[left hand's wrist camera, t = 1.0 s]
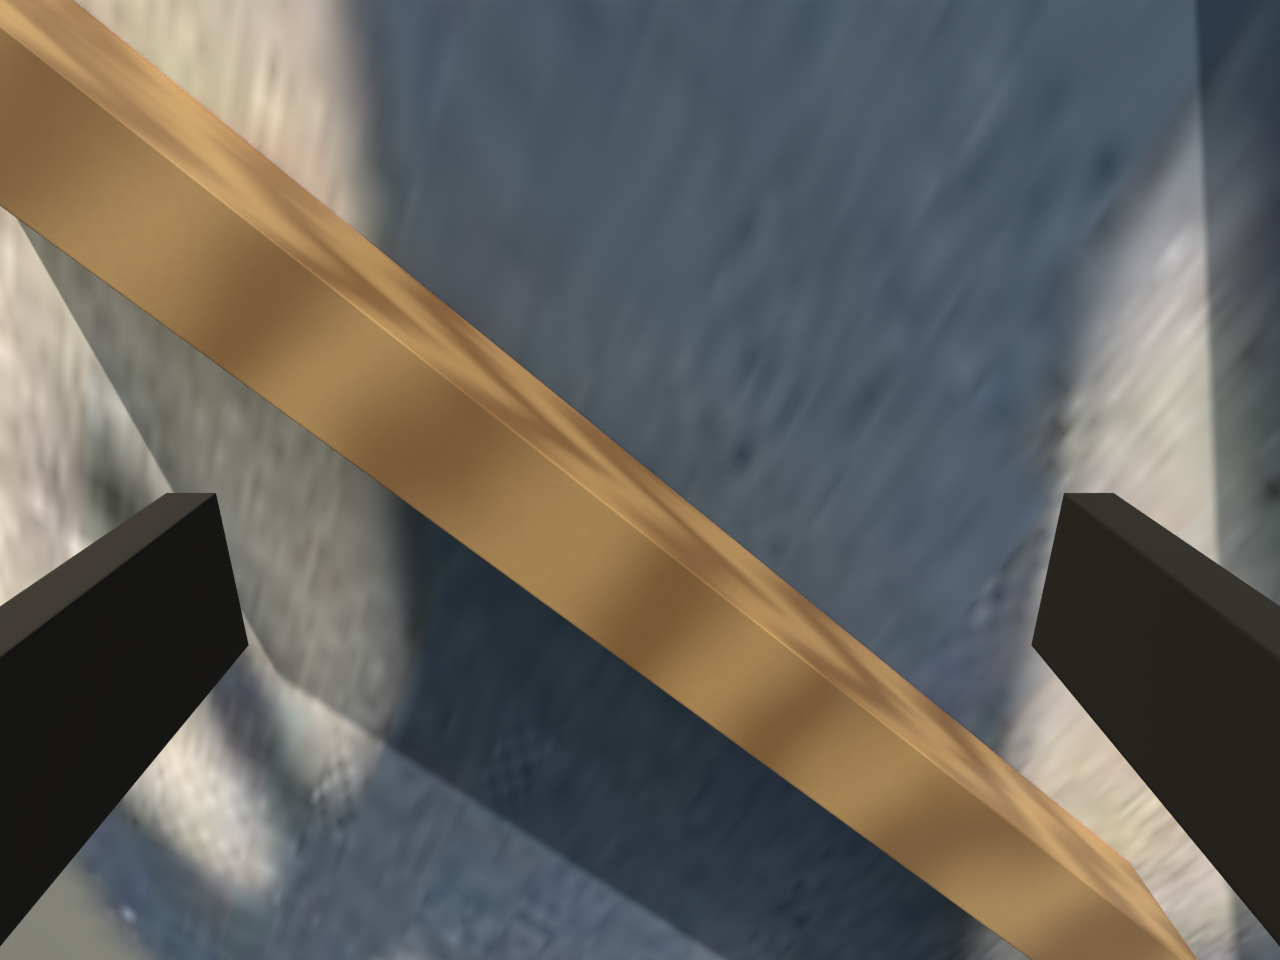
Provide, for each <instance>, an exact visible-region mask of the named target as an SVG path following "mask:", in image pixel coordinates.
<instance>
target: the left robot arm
mask: <svg viewBox="0 0 1280 960" xmlns="http://www.w3.org/2000/svg"><path fill="white" fill-rule="evenodd" d="M247 646H248V640H247V636H246V631H245V626H244V622H243V617H242V612H241V608H240V603H239V598H238V594H237V589H236V584H235V580H234V575H233V570H232V566H231V561H230V556H229V552H228V547H227V542H226V538H225V533H224V529H223V524H222V519H221V515H220V510H219V505H218V501H217V496H216V493H166V494H164V495H163V496H162V497H160V498H159V499H157V500H156V501H154V502H153V503H151V504H150V505H148V506H147V507H145V508H144V509H142V510H141V511H139V512H138V513H137V514H135V515H134V516H132V517H131V518H129V519H128V520H126V521H125V522H123V523H122V524H120V525H119V526H117V527H116V528H115V529H113V530H112V531H110V532H109V533H107V534H106V535H104V536H103V537H101V538H100V539H98V540H97V541H95V542H94V543H93V544H91V545H90V546H88V547H87V548H85V549H84V550H82V551H81V552H79V553H78V554H76V555H75V556H73V557H72V558H71V559H69V560H68V561H66V562H65V563H63V564H62V565H60V566H59V567H57V568H56V569H54V570H53V571H51V572H50V573H49V574H47V575H46V576H44V577H43V578H41V579H40V580H38V581H37V582H35V583H34V584H32V585H31V586H29V587H28V588H27V589H25V590H24V591H22V592H21V593H19V594H18V595H16V596H15V597H13V598H12V599H10V600H9V601H7V602H6V603H5V604H3V605H2V606H0V946H1V945H2V944H3V942H4V941H5V940H6V939H7V937H8V936H9V935H10V934H11V933H12V931H13V930H14V929H15V928H16V926H17V925H18V924H19V923H20V922H21V920H22V919H23V918H24V917H25V916H26V914H27V913H28V912H29V911H30V910H31V908H32V907H33V906H34V905H35V903H36V902H37V901H38V900H39V899H40V897H41V896H42V895H43V894H44V893H45V891H46V890H47V889H48V888H49V887H50V885H51V884H52V883H53V882H54V880H55V879H56V878H57V877H58V876H59V874H60V873H61V872H62V871H63V870H64V868H65V867H66V866H67V865H68V863H69V862H70V861H71V860H72V859H73V857H74V856H75V855H76V854H77V853H78V851H79V850H80V849H81V848H82V846H83V845H84V844H85V843H86V842H87V840H88V839H89V838H90V837H91V836H92V834H93V833H94V832H95V831H96V830H97V828H98V827H99V826H100V825H101V823H102V822H103V821H104V820H105V819H106V817H107V816H108V815H109V814H110V813H111V811H112V810H113V809H114V808H115V806H116V805H117V804H118V803H119V802H120V800H121V799H122V798H123V797H124V796H125V794H126V793H127V792H128V791H129V789H130V788H131V787H132V786H133V785H134V783H135V782H136V781H137V780H138V779H139V777H140V776H141V775H142V774H143V773H144V771H145V770H146V769H147V768H148V766H149V765H150V764H151V763H152V762H153V760H154V759H155V758H156V757H157V756H158V754H159V753H160V752H161V751H162V749H163V748H164V747H165V746H166V745H167V743H168V742H169V741H170V740H171V739H172V737H173V736H174V735H175V734H176V732H177V731H178V730H179V729H180V728H181V726H182V725H183V724H184V723H185V722H186V720H187V719H188V718H189V717H190V716H191V714H192V713H193V712H194V711H195V709H196V708H197V707H198V706H199V705H200V703H201V702H202V701H203V700H204V699H205V697H206V696H207V695H208V694H209V692H210V691H211V690H212V689H213V688H214V686H215V685H216V684H217V683H218V682H219V680H220V679H221V678H222V677H223V675H224V674H225V673H226V672H227V671H228V669H229V668H230V667H231V666H232V665H233V663H234V662H235V661H236V660H237V659H238V657H239V656H240V655H241V654H242V652H243V651H244V650H245V649H246V648H247ZM1032 646H1033V648H1034V649H1035V650H1036V651H1037V652H1038V654H1039V655H1040V656H1041V657H1042V659H1043V660H1044V661H1045V662H1046V663H1047V665H1048V666H1049V667H1050V668H1051V669H1052V671H1053V672H1054V673H1055V674H1056V675H1057V677H1058V678H1059V679H1060V680H1061V682H1062V683H1063V684H1064V685H1065V686H1066V688H1067V689H1068V690H1069V691H1070V692H1071V694H1072V695H1073V696H1074V697H1075V699H1076V700H1077V701H1078V702H1079V703H1080V705H1081V706H1082V707H1083V708H1084V709H1085V711H1086V712H1087V713H1088V714H1089V716H1090V717H1091V718H1092V719H1093V720H1094V722H1095V723H1096V724H1097V725H1098V726H1099V728H1100V729H1101V730H1102V731H1103V732H1104V734H1105V735H1106V736H1107V737H1108V739H1109V740H1110V741H1111V742H1112V743H1113V745H1114V746H1115V747H1116V748H1117V749H1118V751H1119V752H1120V753H1121V754H1122V756H1123V757H1124V758H1125V759H1126V760H1127V762H1128V763H1129V764H1130V765H1131V766H1132V768H1133V769H1134V770H1135V771H1136V773H1137V774H1138V775H1139V776H1140V777H1141V779H1142V780H1143V781H1144V782H1145V783H1146V785H1147V786H1148V787H1149V788H1150V789H1151V791H1152V792H1153V793H1154V794H1155V796H1156V797H1157V798H1158V799H1159V800H1160V802H1161V803H1162V804H1163V805H1164V806H1165V808H1166V809H1167V810H1168V811H1169V813H1170V814H1171V815H1172V816H1173V817H1174V819H1175V820H1176V821H1177V822H1178V823H1179V825H1180V826H1181V827H1182V828H1183V830H1184V831H1185V832H1186V833H1187V834H1188V836H1189V837H1190V838H1191V839H1192V840H1193V842H1194V843H1195V844H1196V845H1197V846H1198V848H1199V849H1200V850H1201V851H1202V853H1203V854H1204V855H1205V856H1206V857H1207V859H1208V860H1209V861H1210V862H1211V863H1212V865H1213V866H1214V867H1215V868H1216V870H1217V871H1218V872H1219V873H1220V874H1221V876H1222V877H1223V878H1224V879H1225V880H1226V882H1227V883H1228V884H1229V885H1230V887H1231V888H1232V889H1233V890H1234V891H1235V893H1236V894H1237V895H1238V896H1239V897H1240V899H1241V900H1242V901H1243V902H1244V903H1245V905H1246V906H1247V907H1248V908H1249V910H1250V911H1251V912H1252V913H1253V914H1254V916H1255V917H1256V918H1257V919H1258V920H1259V922H1260V923H1261V924H1262V925H1263V927H1264V928H1265V929H1266V930H1267V931H1268V933H1269V934H1270V935H1271V936H1272V937H1273V939H1274V940H1275V941H1276V942H1277V944H1278V945H1279V946H1280V606H1278V605H1277V604H1275V603H1274V602H1273V601H1271V600H1270V599H1268V598H1267V597H1265V596H1264V595H1262V594H1261V593H1259V592H1258V591H1256V590H1255V589H1253V588H1252V587H1251V586H1249V585H1248V584H1246V583H1245V582H1243V581H1242V580H1240V579H1239V578H1237V577H1236V576H1234V575H1233V574H1231V573H1230V572H1229V571H1227V570H1226V569H1224V568H1223V567H1221V566H1220V565H1218V564H1217V563H1215V562H1214V561H1212V560H1211V559H1209V558H1208V557H1207V556H1205V555H1204V554H1202V553H1201V552H1199V551H1198V550H1196V549H1195V548H1193V547H1192V546H1190V545H1189V544H1187V543H1186V542H1185V541H1183V540H1182V539H1180V538H1179V537H1177V536H1176V535H1174V534H1173V533H1171V532H1170V531H1168V530H1167V529H1165V528H1164V527H1163V526H1161V525H1160V524H1158V523H1157V522H1155V521H1154V520H1152V519H1151V518H1149V517H1148V516H1146V515H1145V514H1143V513H1142V512H1140V511H1139V510H1138V509H1136V508H1135V507H1133V506H1132V505H1130V504H1129V503H1127V502H1126V501H1124V500H1123V499H1121V498H1120V497H1118V496H1117V495H1116V494H1114V493H1064V496H1063V501H1062V505H1061V510H1060V515H1059V519H1058V524H1057V528H1056V533H1055V538H1054V542H1053V547H1052V552H1051V556H1050V561H1049V566H1048V570H1047V575H1046V580H1045V584H1044V589H1043V594H1042V598H1041V603H1040V608H1039V612H1038V617H1037V622H1036V626H1035V631H1034V636H1033V640H1032Z"/></svg>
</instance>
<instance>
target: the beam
mask: <svg viewBox="0 0 1280 960" xmlns="http://www.w3.org/2000/svg"><path fill="white" fill-rule="evenodd" d="M0 206H1V207H3V208H4V209H5V210H7V211H8V212H9V213H11V214H12V215H14V216H15V217H16V218H18V219H19V220H20V221H22V222H23V223H24V224H26V225H27V226H29V227H30V228H31V229H33V230H34V231H35V232H37V233H38V234H40V235H41V236H42V237H44V238H45V239H46V240H48V241H49V242H50V243H52V244H53V245H55V246H56V247H57V248H59V249H60V250H61V251H63V252H64V253H66V254H67V255H68V256H70V257H71V258H72V259H74V260H75V261H76V262H78V263H79V264H81V265H82V266H83V267H85V268H86V269H87V270H89V271H90V272H91V273H93V274H94V275H96V276H97V277H98V278H100V279H101V280H102V281H104V282H105V283H107V284H108V285H109V286H111V287H112V288H113V289H115V290H116V291H117V292H119V293H120V294H122V295H123V296H124V297H126V298H127V299H128V300H130V301H131V302H133V303H134V304H135V305H137V306H138V307H139V308H141V309H142V310H143V311H145V312H146V313H148V314H149V315H150V316H152V317H153V318H154V319H156V320H157V321H159V322H160V323H161V324H163V325H164V326H165V327H167V328H168V329H169V330H171V331H172V332H174V333H175V334H176V335H178V336H179V337H180V338H182V339H183V340H184V341H186V342H187V343H189V344H190V345H191V346H193V347H194V348H195V349H197V350H198V351H200V352H201V353H202V354H204V355H205V356H206V357H208V358H209V359H210V360H212V361H213V362H215V363H216V364H217V365H219V366H220V367H221V368H223V369H224V370H226V371H227V372H228V373H230V374H231V375H232V376H234V377H235V378H236V379H238V380H239V381H241V382H242V383H243V384H245V385H246V386H247V387H249V388H250V389H252V390H253V391H254V392H256V393H257V394H258V395H260V396H261V397H262V398H264V399H265V400H267V401H268V402H269V403H271V404H272V405H273V406H275V407H276V408H278V409H279V410H280V411H282V412H283V413H284V414H286V415H287V416H288V417H290V418H291V419H293V420H294V421H295V422H297V423H298V424H299V425H301V426H302V427H303V428H305V429H306V430H308V431H309V432H310V433H312V434H313V435H314V436H316V437H317V438H319V439H320V440H321V441H323V442H324V443H325V444H327V445H328V446H329V447H331V448H332V449H334V450H335V451H336V452H338V453H339V454H340V455H342V456H343V457H345V458H346V459H347V460H349V461H350V462H351V463H353V464H354V465H355V466H357V467H358V468H360V469H361V470H362V471H364V472H365V473H366V474H368V475H369V476H371V477H372V478H373V479H375V480H376V481H377V482H379V483H380V484H381V485H383V486H384V487H386V488H387V489H388V490H390V491H391V492H392V493H394V494H395V495H397V496H398V497H399V498H401V499H402V500H403V501H405V502H406V503H407V504H409V505H410V506H412V507H413V508H414V509H416V510H417V511H418V512H420V513H421V514H422V515H424V516H425V517H427V518H428V519H429V520H431V521H432V522H433V523H435V524H436V525H438V526H439V527H440V528H442V529H443V530H444V531H446V532H447V533H448V534H450V535H451V536H453V537H454V538H455V539H457V540H458V541H459V542H461V543H462V544H464V545H465V546H466V547H468V548H469V549H470V550H472V551H473V552H474V553H476V554H477V555H479V556H480V557H481V558H483V559H484V560H485V561H487V562H488V563H490V564H491V565H492V566H494V567H495V568H496V569H498V570H499V571H500V572H502V573H503V574H505V575H506V576H507V577H509V578H510V579H511V580H513V581H514V582H516V583H517V584H518V585H520V586H521V587H522V588H524V589H525V590H526V591H528V592H529V593H531V594H532V595H533V596H535V597H536V598H537V599H539V600H540V601H541V602H543V603H544V604H546V605H547V606H548V607H550V608H551V609H552V610H554V611H555V612H557V613H558V614H559V615H561V616H562V617H563V618H565V619H566V620H567V621H569V622H570V623H572V624H573V625H574V626H576V627H577V628H578V629H580V630H581V631H583V632H584V633H585V634H587V635H588V636H589V637H591V638H592V639H593V640H595V641H596V642H598V643H599V644H600V645H602V646H603V647H604V648H606V649H607V650H609V651H610V652H611V653H613V654H614V655H615V656H617V657H618V658H619V659H621V660H622V661H624V662H625V663H626V664H628V665H629V666H630V667H632V668H633V669H635V670H636V671H637V672H639V673H640V674H641V675H643V676H644V677H645V678H647V679H648V680H650V681H651V682H652V683H654V684H655V685H656V686H658V687H659V688H660V689H662V690H663V691H665V692H666V693H667V694H669V695H670V696H671V697H673V698H674V699H676V700H677V701H678V702H680V703H681V704H682V705H684V706H685V707H686V708H688V709H689V710H691V711H692V712H693V713H695V714H696V715H697V716H699V717H700V718H702V719H703V720H704V721H706V722H707V723H708V724H710V725H711V726H712V727H714V728H715V729H717V730H718V731H719V732H721V733H722V734H723V735H725V736H726V737H728V738H729V739H730V740H732V741H733V742H734V743H736V744H737V745H738V746H740V747H741V748H743V749H744V750H745V751H747V752H748V753H749V754H751V755H752V756H754V757H755V758H756V759H758V760H759V761H760V762H762V763H763V764H764V765H766V766H767V767H769V768H770V769H771V770H773V771H774V772H775V773H777V774H778V775H779V776H781V777H782V778H784V779H785V780H786V781H788V782H789V783H790V784H792V785H793V786H795V787H796V788H797V789H799V790H800V791H801V792H803V793H804V794H805V795H807V796H808V797H810V798H811V799H812V800H814V801H815V802H816V803H818V804H819V805H821V806H822V807H823V808H825V809H826V810H827V811H829V812H830V813H831V814H833V815H834V816H836V817H837V818H838V819H840V820H841V821H842V822H844V823H845V824H847V825H848V826H849V827H851V828H852V829H853V830H855V831H856V832H857V833H859V834H860V835H862V836H863V837H864V838H866V839H867V840H868V841H870V842H871V843H872V844H874V845H875V846H877V847H878V848H879V849H881V850H882V851H883V852H885V853H886V854H888V855H889V856H890V857H892V858H893V859H894V860H896V861H897V862H898V863H900V864H901V865H903V866H904V867H905V868H907V869H908V870H909V871H911V872H912V873H914V874H915V875H916V876H918V877H919V878H920V879H922V880H923V881H924V882H926V883H927V884H929V885H930V886H931V887H933V888H934V889H935V890H937V891H938V892H940V893H941V894H942V895H944V896H945V897H946V898H948V899H949V900H950V901H952V902H953V903H955V904H956V905H957V906H959V907H960V908H961V909H963V910H964V911H966V912H967V913H968V914H970V915H971V916H972V917H974V918H975V919H976V920H978V921H979V922H981V923H982V924H983V925H985V926H986V927H987V928H989V929H990V930H991V931H993V932H994V933H996V934H997V935H998V936H1000V937H1001V938H1002V939H1004V940H1005V941H1007V942H1008V943H1009V944H1011V945H1012V946H1013V947H1015V948H1016V949H1017V950H1019V951H1020V952H1022V953H1023V954H1024V955H1026V956H1027V957H1028V958H1030V959H1031V960H1197V958H1196V957H1195V955H1194V954H1193V952H1192V951H1191V950H1190V948H1189V947H1188V945H1187V944H1186V942H1185V941H1184V940H1183V938H1182V937H1181V935H1180V934H1179V932H1178V931H1177V930H1176V928H1175V927H1174V925H1173V924H1172V922H1171V921H1170V920H1169V918H1168V917H1167V915H1166V914H1165V913H1164V911H1163V910H1162V908H1161V907H1160V905H1159V904H1158V903H1157V901H1156V900H1155V898H1154V897H1153V895H1152V894H1151V893H1150V891H1149V890H1148V888H1147V887H1146V885H1145V884H1144V883H1143V881H1142V880H1141V878H1140V877H1139V875H1138V874H1137V873H1136V871H1135V870H1134V868H1133V867H1132V865H1131V864H1130V863H1129V862H1128V861H1126V860H1125V859H1124V858H1123V857H1121V856H1120V855H1119V854H1118V853H1117V852H1115V851H1114V850H1113V849H1112V848H1110V847H1109V846H1108V845H1107V844H1106V843H1104V842H1103V841H1102V840H1101V839H1099V838H1098V837H1097V836H1096V835H1094V834H1093V833H1092V832H1091V831H1090V830H1088V829H1087V828H1086V827H1085V826H1083V825H1082V824H1081V823H1080V822H1079V821H1077V820H1076V819H1075V818H1074V817H1072V816H1071V815H1070V814H1069V813H1068V812H1066V811H1065V810H1064V809H1063V808H1061V807H1060V806H1059V805H1058V804H1057V803H1055V802H1054V801H1053V800H1052V799H1050V798H1049V797H1048V796H1047V795H1046V794H1044V793H1043V792H1042V791H1041V790H1039V789H1038V788H1037V787H1036V786H1035V785H1033V784H1032V783H1031V782H1030V781H1028V780H1027V779H1026V778H1025V777H1023V776H1022V775H1021V774H1020V773H1019V772H1017V771H1016V770H1015V769H1014V768H1012V767H1011V766H1010V765H1009V764H1008V763H1006V762H1005V761H1004V760H1003V759H1001V758H1000V757H999V756H998V755H997V754H995V753H994V752H993V751H992V750H990V749H989V748H988V747H987V746H986V745H984V744H983V743H982V742H981V741H979V740H978V739H977V738H976V737H975V736H973V735H972V734H971V733H970V732H968V731H967V730H966V729H965V728H964V727H962V726H961V725H960V724H959V723H957V722H956V721H955V720H954V719H953V718H951V717H950V716H949V715H948V714H946V713H945V712H944V711H943V710H941V709H940V708H939V707H938V706H937V705H935V704H934V703H933V702H932V701H930V700H929V699H928V698H927V697H926V696H924V695H923V694H922V693H921V692H919V691H918V690H917V689H916V688H915V687H913V686H912V685H911V684H910V683H908V682H907V681H906V680H905V679H904V678H902V677H901V676H900V675H899V674H897V673H896V672H895V671H894V670H893V669H891V668H890V667H889V666H888V665H886V664H885V663H884V662H883V661H882V660H880V659H879V658H878V657H877V656H875V655H874V654H873V653H872V652H871V651H869V650H868V649H867V648H866V647H864V646H863V645H862V644H861V643H859V642H858V641H857V640H856V639H855V638H853V637H852V636H851V635H850V634H848V633H847V632H846V631H845V630H844V629H842V628H841V627H840V626H839V625H837V624H836V623H835V622H834V621H833V620H831V619H830V618H829V617H828V616H826V615H825V614H824V613H823V612H822V611H820V610H819V609H818V608H817V607H815V606H814V605H813V604H812V603H811V602H809V601H808V600H807V599H806V598H804V597H803V596H802V595H801V594H800V593H798V592H797V591H796V590H795V589H793V588H792V587H791V586H790V585H788V584H787V583H786V582H785V581H784V580H782V579H781V578H780V577H779V576H777V575H776V574H775V573H774V572H773V571H771V570H770V569H769V568H768V567H766V566H765V565H764V564H763V563H762V562H760V561H759V560H758V559H757V558H755V557H754V556H753V555H752V554H751V553H749V552H748V551H747V550H746V549H744V548H743V547H742V546H741V545H740V544H738V543H737V542H736V541H735V540H733V539H732V538H731V537H730V536H729V535H727V534H726V533H725V532H724V531H722V530H721V529H720V528H719V527H718V526H716V525H715V524H714V523H713V522H711V521H710V520H709V519H708V518H706V517H705V516H704V515H703V514H702V513H700V512H699V511H698V510H697V509H695V508H694V507H693V506H692V505H691V504H689V503H688V502H687V501H686V500H684V499H683V498H682V497H681V496H680V495H678V494H677V493H676V492H675V491H673V490H672V489H671V488H670V487H669V486H667V485H666V484H665V483H664V482H662V481H661V480H660V479H659V478H658V477H656V476H655V475H654V474H653V473H651V472H650V471H649V470H648V469H647V468H645V467H644V466H643V465H642V464H640V463H639V462H638V461H637V460H635V459H634V458H633V457H632V456H631V455H629V454H628V453H627V452H626V451H624V450H623V449H622V448H621V447H620V446H618V445H617V444H616V443H615V442H613V441H612V440H611V439H610V438H609V437H607V436H606V435H605V434H604V433H602V432H601V431H600V430H599V429H598V428H596V427H595V426H594V425H593V424H591V423H590V422H589V421H588V420H587V419H585V418H584V417H583V416H582V415H580V414H579V413H578V412H577V411H576V410H574V409H573V408H572V407H571V406H569V405H568V404H567V403H566V402H565V401H563V400H562V399H561V398H560V397H558V396H557V395H556V394H555V393H553V392H552V391H551V390H550V389H549V388H547V387H546V386H545V385H544V384H542V383H541V382H540V381H539V380H538V379H536V378H535V377H534V376H533V375H531V374H530V373H529V372H528V371H527V370H525V369H524V368H523V367H522V366H520V365H519V364H518V363H517V362H516V361H514V360H513V359H512V358H511V357H509V356H508V355H507V354H506V353H505V352H503V351H502V350H501V349H500V348H498V347H497V346H496V345H495V344H494V343H492V342H491V341H490V340H489V339H487V338H486V337H485V336H484V335H482V334H481V333H480V332H479V331H478V330H476V329H475V328H474V327H473V326H471V325H470V324H469V323H468V322H467V321H465V320H464V319H463V318H462V317H460V316H459V315H458V314H457V313H456V312H454V311H453V310H452V309H451V308H449V307H448V306H447V305H446V304H445V303H443V302H442V301H441V300H440V299H438V298H437V297H436V296H435V295H434V294H432V293H431V292H430V291H429V290H427V289H426V288H425V287H424V286H423V285H421V284H420V283H419V282H418V281H416V280H415V279H414V278H413V277H412V276H410V275H409V274H408V273H407V272H405V271H404V270H403V269H402V268H400V267H399V266H398V265H397V264H396V263H394V262H393V261H392V260H391V259H389V258H388V257H387V256H386V255H385V254H383V253H382V252H381V251H380V250H378V249H377V248H376V247H375V246H374V245H372V244H371V243H370V242H369V241H367V240H366V239H365V238H364V237H363V236H361V235H360V234H359V233H358V232H356V231H355V230H354V229H353V228H352V227H350V226H349V225H348V224H347V223H345V222H344V221H343V220H342V219H341V218H339V217H338V216H337V215H336V214H334V213H333V212H332V211H331V210H329V209H328V208H327V207H326V206H325V205H323V204H322V203H321V202H320V201H318V200H317V199H316V198H315V197H314V196H312V195H311V194H310V193H309V192H307V191H306V190H305V189H304V188H303V187H301V186H300V185H299V184H298V183H296V182H295V181H294V180H293V179H292V178H290V177H289V176H288V175H287V174H285V173H284V172H283V171H282V170H281V169H279V168H278V167H277V166H276V165H274V164H273V163H272V162H271V161H270V160H268V159H267V158H266V157H265V156H263V155H262V154H261V153H260V152H259V151H257V150H256V149H255V148H254V147H252V146H251V145H250V144H249V143H247V142H246V141H245V140H244V139H243V138H241V137H240V136H239V135H238V134H236V133H235V132H234V131H233V130H232V129H230V128H229V127H228V126H227V125H225V124H224V123H223V122H222V121H221V120H219V119H218V118H217V117H216V116H214V115H213V114H212V113H211V112H210V111H208V110H207V109H206V108H205V107H203V106H202V105H201V104H200V103H199V102H197V101H196V100H195V99H194V98H192V97H191V96H190V95H189V94H188V93H186V92H185V91H184V90H183V89H181V88H180V87H179V86H178V85H177V84H175V83H174V82H173V81H172V80H170V79H169V78H168V77H167V76H165V75H164V74H163V73H162V72H161V71H159V70H158V69H157V68H156V67H154V66H153V65H152V64H151V63H150V62H148V61H147V60H146V59H145V58H143V57H142V56H141V55H140V54H139V53H137V52H136V51H135V50H134V49H132V48H131V47H130V46H129V45H128V44H126V43H125V42H124V41H123V40H121V39H120V38H119V37H118V36H117V35H115V34H114V33H113V32H112V31H110V30H109V29H108V28H107V27H106V26H104V25H103V24H102V23H101V22H99V21H98V20H97V19H96V18H94V17H93V16H92V15H91V14H90V13H88V12H87V11H86V10H85V9H83V8H82V7H81V6H80V5H79V4H77V3H76V2H75V1H74V0H0Z"/></svg>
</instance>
